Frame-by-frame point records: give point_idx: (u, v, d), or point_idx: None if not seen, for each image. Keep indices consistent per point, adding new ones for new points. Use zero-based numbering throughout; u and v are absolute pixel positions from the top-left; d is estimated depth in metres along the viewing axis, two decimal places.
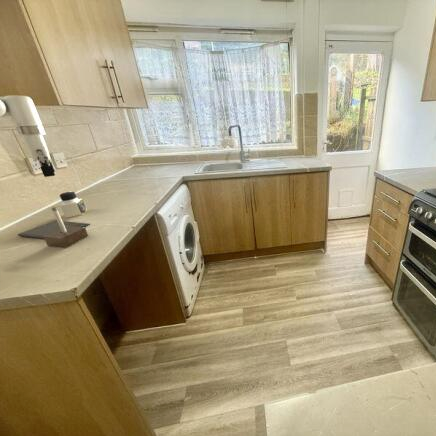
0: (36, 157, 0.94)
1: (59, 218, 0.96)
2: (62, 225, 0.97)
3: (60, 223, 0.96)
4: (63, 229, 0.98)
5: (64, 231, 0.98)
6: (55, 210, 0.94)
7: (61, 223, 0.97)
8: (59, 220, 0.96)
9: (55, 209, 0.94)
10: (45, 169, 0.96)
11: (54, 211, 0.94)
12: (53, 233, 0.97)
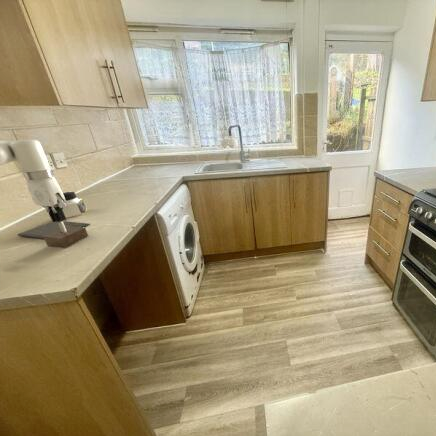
0: (56, 201, 0.91)
1: None
2: (62, 225, 0.97)
3: (60, 223, 0.96)
4: (63, 229, 0.98)
5: (64, 231, 0.98)
6: None
7: (61, 223, 0.97)
8: None
9: None
10: (59, 214, 0.95)
11: None
12: (53, 233, 0.97)
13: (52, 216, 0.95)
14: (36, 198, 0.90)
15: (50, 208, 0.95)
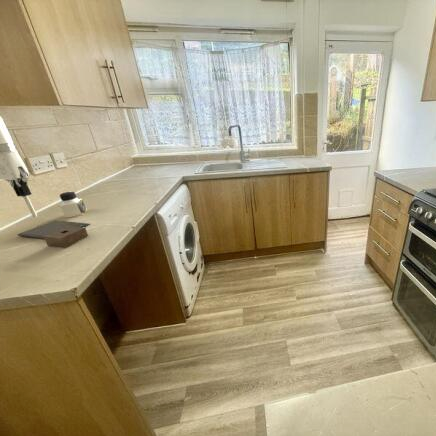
0: (18, 174, 0.93)
1: None
2: (27, 200, 0.99)
3: (25, 198, 0.99)
4: (28, 204, 1.00)
5: (30, 206, 1.00)
6: None
7: (26, 198, 0.99)
8: None
9: None
10: (23, 188, 0.97)
11: None
12: (53, 233, 0.97)
13: (16, 190, 0.97)
14: None
15: (14, 182, 0.97)
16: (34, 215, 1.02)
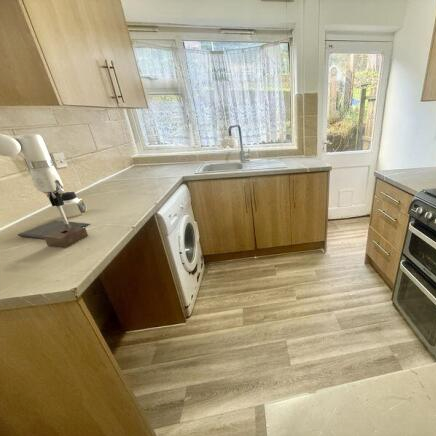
0: (55, 187, 1.04)
1: None
2: (61, 209, 1.11)
3: (59, 207, 1.10)
4: (61, 213, 1.11)
5: (62, 214, 1.12)
6: None
7: (60, 207, 1.11)
8: None
9: None
10: (58, 199, 1.08)
11: None
12: (53, 233, 0.97)
13: (52, 201, 1.09)
14: (38, 185, 1.04)
15: (50, 194, 1.08)
16: (66, 223, 1.14)
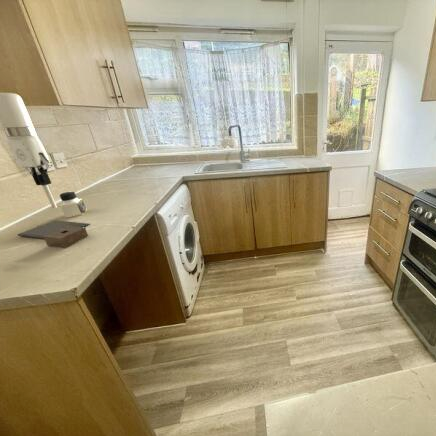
0: (39, 161, 0.85)
1: None
2: (47, 189, 0.92)
3: (45, 187, 0.91)
4: (48, 194, 0.93)
5: (49, 196, 0.93)
6: None
7: (46, 187, 0.92)
8: None
9: None
10: (43, 176, 0.90)
11: None
12: (53, 233, 0.97)
13: (36, 179, 0.90)
14: (18, 158, 0.85)
15: (34, 170, 0.89)
16: (53, 206, 0.95)
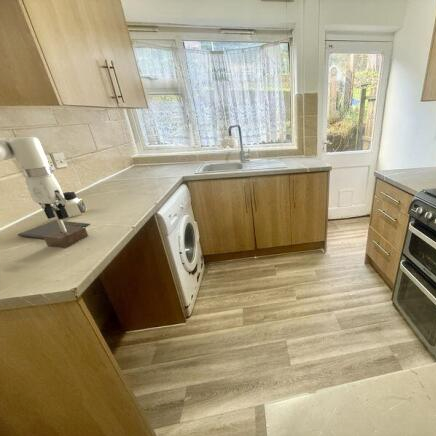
0: (54, 198, 0.90)
1: None
2: (62, 225, 0.97)
3: (60, 223, 0.96)
4: (63, 229, 0.98)
5: (64, 231, 0.98)
6: None
7: (61, 223, 0.97)
8: (59, 220, 0.96)
9: (55, 209, 0.94)
10: (61, 211, 0.94)
11: (54, 211, 0.94)
12: (53, 233, 0.97)
13: (47, 213, 0.95)
14: (35, 195, 0.90)
15: (45, 205, 0.94)
16: None
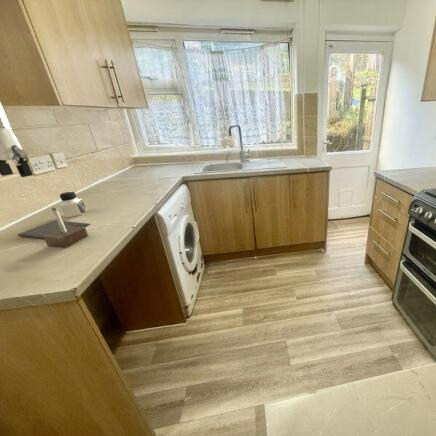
0: (12, 154, 0.82)
1: (59, 218, 0.96)
2: (62, 225, 0.97)
3: (60, 223, 0.96)
4: (63, 229, 0.98)
5: (64, 231, 0.98)
6: (55, 210, 0.94)
7: (61, 223, 0.97)
8: (59, 220, 0.96)
9: (55, 209, 0.94)
10: (24, 167, 0.85)
11: (54, 211, 0.94)
12: (53, 233, 0.97)
13: (0, 169, 0.87)
14: None
15: None
16: None
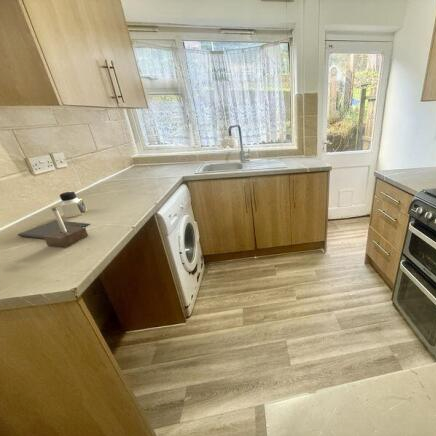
0: None
1: (59, 218, 0.96)
2: (62, 225, 0.97)
3: (60, 223, 0.96)
4: (63, 229, 0.98)
5: (64, 231, 0.98)
6: (55, 210, 0.94)
7: (61, 223, 0.97)
8: (59, 220, 0.96)
9: (55, 209, 0.94)
10: None
11: (54, 211, 0.94)
12: (53, 233, 0.97)
13: None
14: None
15: None
16: None
